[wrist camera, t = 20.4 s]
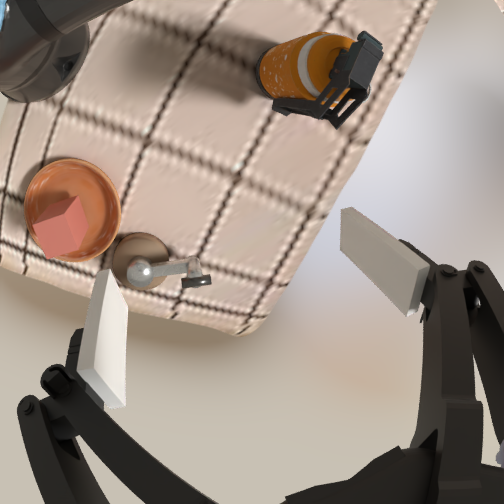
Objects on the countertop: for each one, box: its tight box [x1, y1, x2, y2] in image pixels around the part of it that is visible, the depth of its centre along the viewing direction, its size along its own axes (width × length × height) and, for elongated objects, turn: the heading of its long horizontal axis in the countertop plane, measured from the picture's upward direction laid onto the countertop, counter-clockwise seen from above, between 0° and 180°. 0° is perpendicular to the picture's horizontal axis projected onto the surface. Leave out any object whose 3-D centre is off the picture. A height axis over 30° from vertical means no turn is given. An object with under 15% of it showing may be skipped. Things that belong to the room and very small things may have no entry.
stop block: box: [32, 195, 89, 259], centre depth 33 cm, size 5×5×7 cm
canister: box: [256, 31, 384, 130], centre depth 29 cm, size 9×11×20 cm
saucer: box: [24, 158, 121, 262], centre depth 37 cm, size 16×16×3 cm
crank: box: [127, 256, 211, 288], centre depth 41 cm, size 12×4×6 cm, turn 89°
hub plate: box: [112, 233, 169, 290], centre depth 44 cm, size 9×9×3 cm
